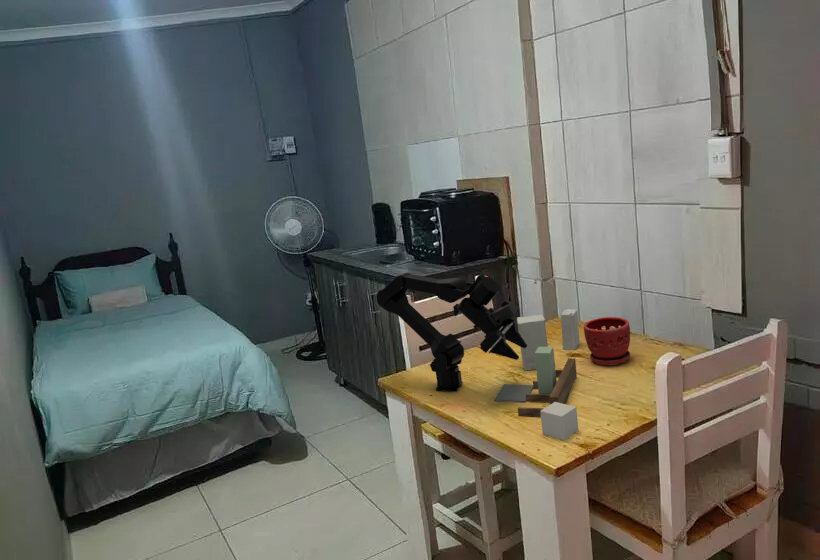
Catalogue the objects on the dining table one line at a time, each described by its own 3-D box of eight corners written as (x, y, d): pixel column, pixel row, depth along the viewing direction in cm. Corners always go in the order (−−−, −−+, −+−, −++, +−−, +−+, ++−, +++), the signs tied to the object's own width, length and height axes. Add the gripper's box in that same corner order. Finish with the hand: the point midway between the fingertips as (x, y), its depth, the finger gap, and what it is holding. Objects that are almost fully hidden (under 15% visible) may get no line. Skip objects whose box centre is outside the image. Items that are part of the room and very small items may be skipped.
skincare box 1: (548, 361, 193) (543, 313, 190) (551, 368, 187) (546, 319, 184) (521, 363, 194) (516, 316, 191) (523, 371, 188) (517, 322, 185)
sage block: (539, 398, 167) (534, 353, 165) (542, 391, 172) (538, 346, 169) (554, 399, 166) (549, 353, 163) (557, 391, 170) (553, 346, 167)
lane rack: (518, 415, 159) (516, 395, 158) (540, 375, 183) (538, 358, 182) (559, 417, 154) (557, 397, 153) (576, 376, 178) (575, 358, 177)
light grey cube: (557, 424, 151) (555, 401, 150) (578, 430, 147) (576, 406, 146) (542, 434, 148) (540, 410, 146) (563, 440, 143) (561, 416, 142)
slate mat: (493, 401, 170) (493, 399, 170) (504, 385, 179) (504, 384, 179) (525, 402, 166) (525, 401, 166) (534, 386, 176) (534, 385, 176)
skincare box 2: (567, 343, 207) (564, 308, 205) (580, 343, 205) (577, 308, 202) (562, 349, 202) (559, 314, 199) (576, 350, 200) (573, 314, 197)
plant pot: (603, 350, 196) (600, 314, 194) (640, 357, 186) (638, 319, 183) (577, 363, 189) (574, 325, 186) (615, 371, 178) (612, 332, 176)
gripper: (486, 303, 159) (533, 344, 157) (505, 285, 176) (548, 322, 173) (461, 333, 164) (506, 372, 162) (482, 312, 181) (523, 348, 178)
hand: (522, 352), depth 169 cm, fingers open, 9 cm apart
